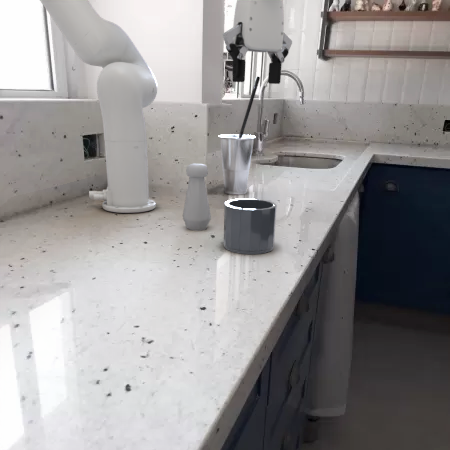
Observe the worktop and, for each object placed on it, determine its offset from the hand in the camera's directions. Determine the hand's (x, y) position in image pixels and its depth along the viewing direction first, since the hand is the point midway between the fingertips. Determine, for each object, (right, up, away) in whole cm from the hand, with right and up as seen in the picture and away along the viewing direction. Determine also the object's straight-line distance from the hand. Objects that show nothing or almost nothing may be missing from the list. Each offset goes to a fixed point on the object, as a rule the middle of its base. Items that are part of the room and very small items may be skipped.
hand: (256, 82), depth 100 cm
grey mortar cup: (-2, -35, -10) cm, 37 cm away
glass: (-3, -15, +37) cm, 40 cm away
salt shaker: (-12, -30, +1) cm, 33 cm away
